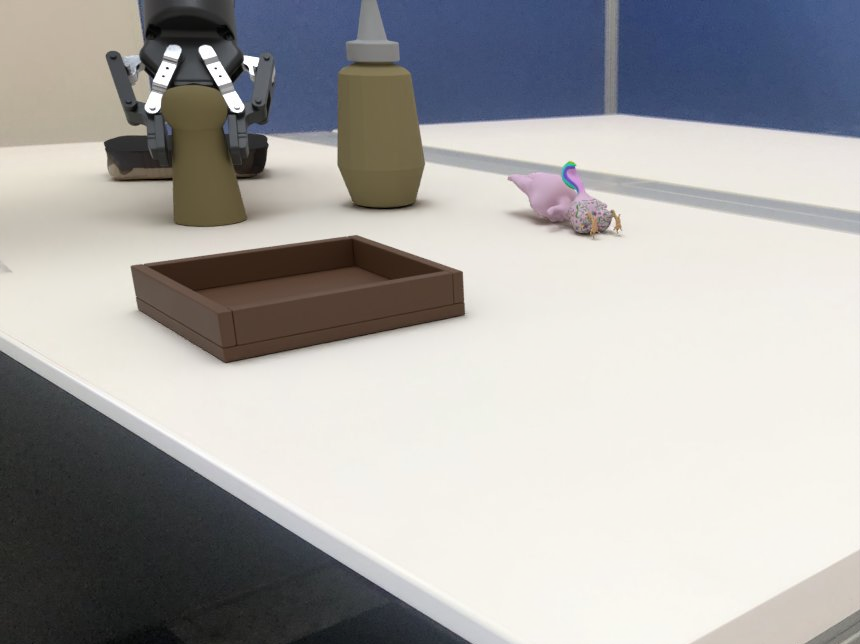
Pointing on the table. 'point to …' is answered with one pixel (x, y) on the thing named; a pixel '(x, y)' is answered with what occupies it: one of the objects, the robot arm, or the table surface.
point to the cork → (201, 158)
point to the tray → (295, 294)
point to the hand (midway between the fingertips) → (200, 158)
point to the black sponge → (136, 162)
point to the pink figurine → (565, 200)
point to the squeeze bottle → (377, 120)
